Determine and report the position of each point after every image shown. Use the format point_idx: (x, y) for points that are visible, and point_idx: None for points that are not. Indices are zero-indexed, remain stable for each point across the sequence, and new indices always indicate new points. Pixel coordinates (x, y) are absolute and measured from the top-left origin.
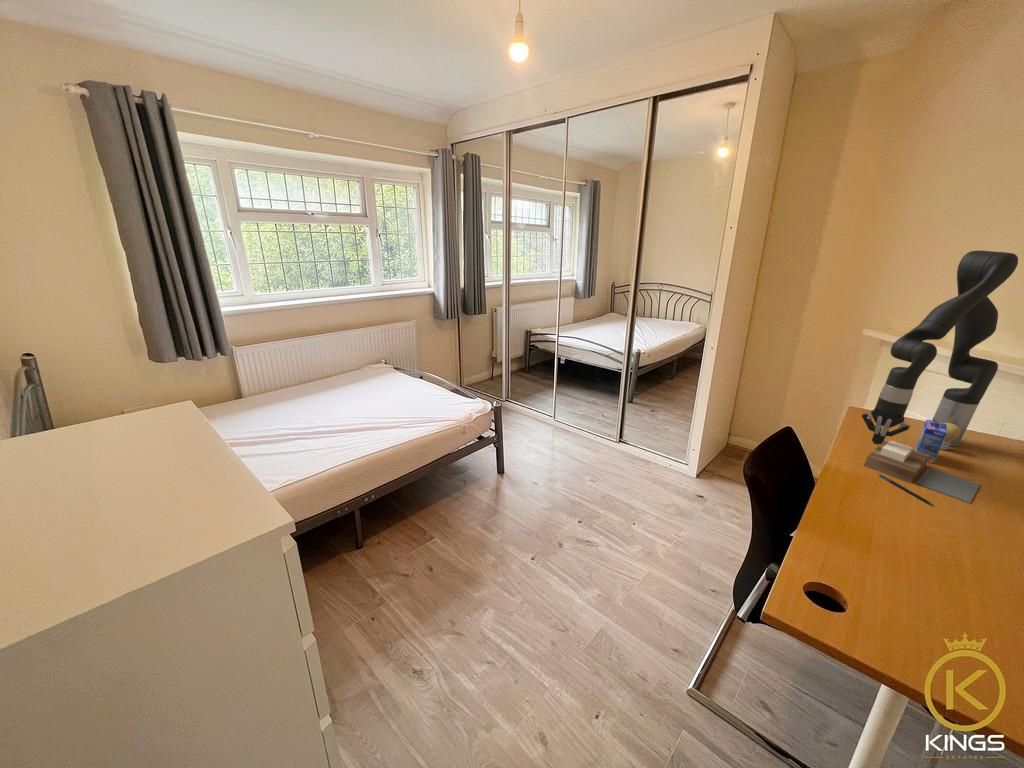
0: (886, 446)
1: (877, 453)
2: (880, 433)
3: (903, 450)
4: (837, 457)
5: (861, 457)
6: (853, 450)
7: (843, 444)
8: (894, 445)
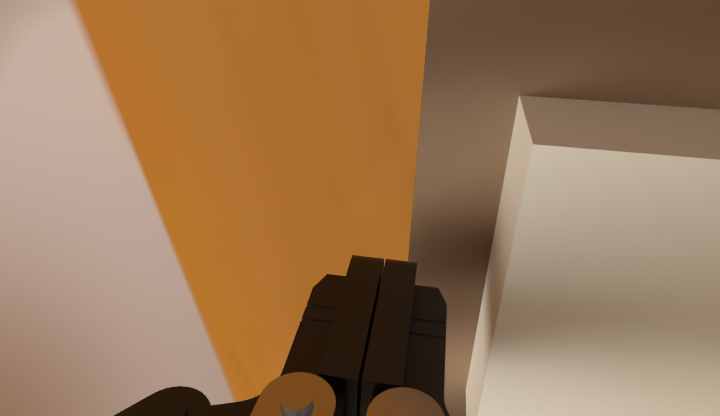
0: (502, 411)
1: (445, 388)
2: (351, 390)
3: (713, 394)
4: (236, 376)
5: (346, 255)
6: (247, 158)
7: (129, 85)
8: (597, 315)
